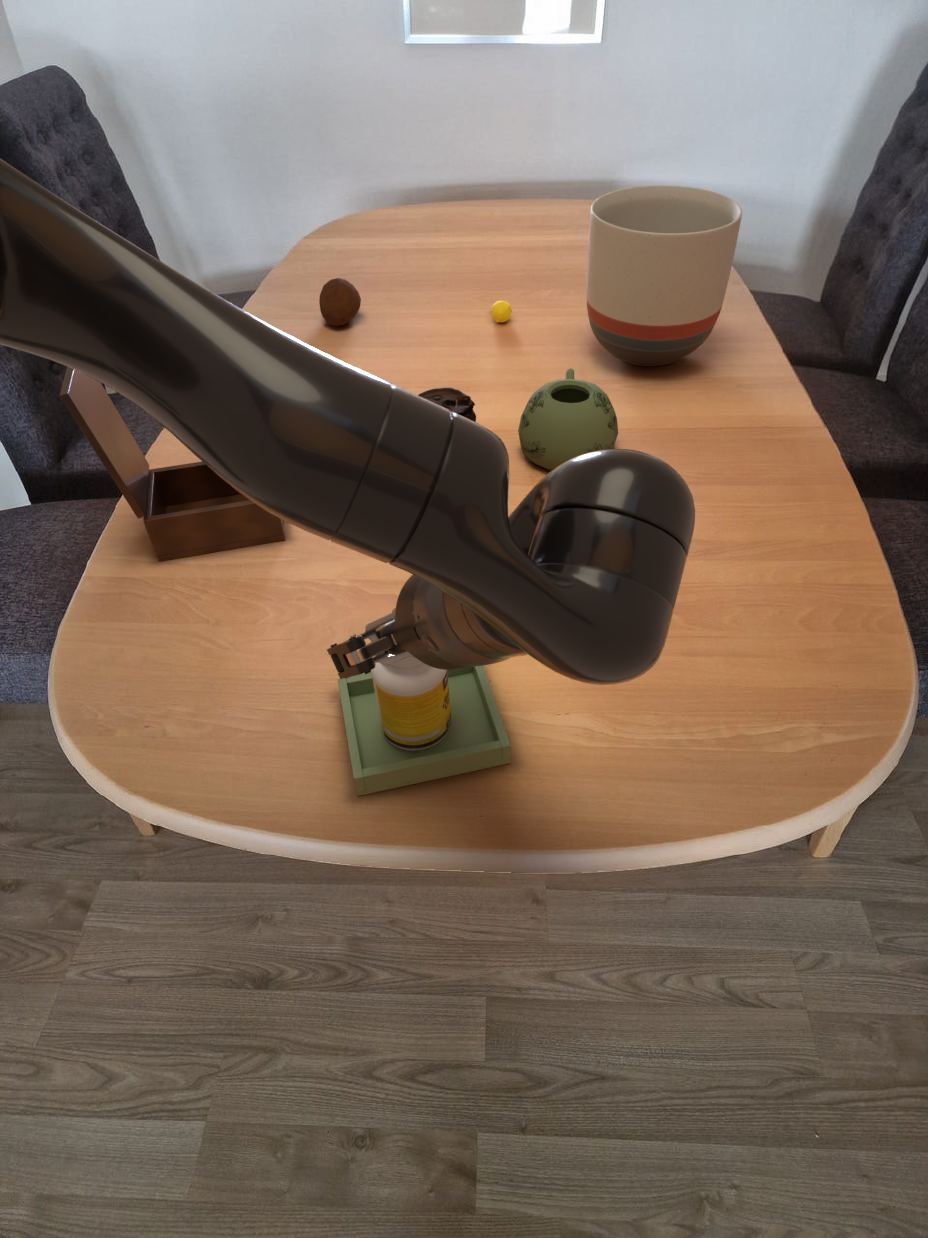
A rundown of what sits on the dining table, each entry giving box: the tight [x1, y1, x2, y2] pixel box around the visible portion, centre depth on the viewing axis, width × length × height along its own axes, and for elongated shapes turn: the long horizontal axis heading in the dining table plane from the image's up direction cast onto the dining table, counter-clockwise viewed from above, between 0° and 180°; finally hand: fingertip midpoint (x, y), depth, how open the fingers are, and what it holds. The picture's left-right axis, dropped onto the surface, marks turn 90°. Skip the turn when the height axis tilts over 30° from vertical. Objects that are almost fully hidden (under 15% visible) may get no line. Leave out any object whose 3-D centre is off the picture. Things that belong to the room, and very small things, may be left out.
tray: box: [336, 665, 512, 797], centre depth 73 cm, size 14×12×3 cm
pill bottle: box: [371, 620, 451, 751], centre depth 70 cm, size 6×6×12 cm
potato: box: [318, 277, 362, 327], centre depth 136 cm, size 7×10×7 cm
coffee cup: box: [417, 387, 477, 423], centre depth 96 cm, size 9×8×13 cm
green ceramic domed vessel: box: [517, 367, 619, 471], centre depth 105 cm, size 16×13×9 cm
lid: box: [59, 366, 150, 519], centre depth 87 cm, size 16×11×1 cm
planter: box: [585, 184, 743, 367], centre depth 118 cm, size 20×20×21 cm
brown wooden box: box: [142, 461, 286, 562], centre depth 96 cm, size 15×11×6 cm
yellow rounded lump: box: [490, 300, 513, 323], centre depth 136 cm, size 3×6×4 cm, turn 2°
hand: (397, 631), depth 67 cm, fingers open, 8 cm apart
